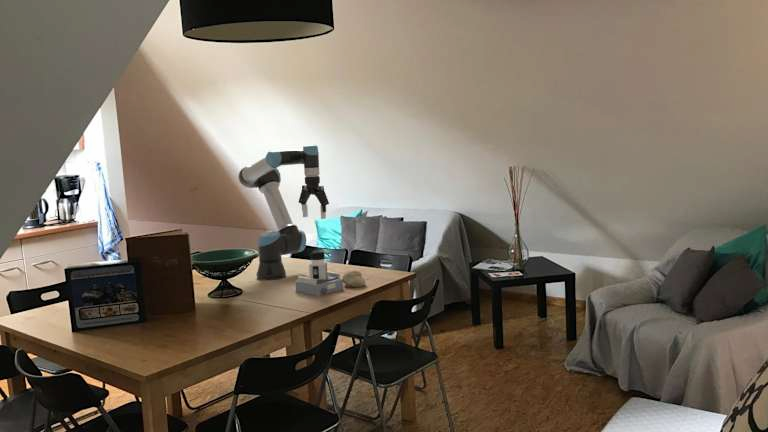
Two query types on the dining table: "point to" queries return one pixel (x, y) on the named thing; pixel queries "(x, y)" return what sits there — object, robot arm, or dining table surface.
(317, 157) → the robot arm
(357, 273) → the decorative item
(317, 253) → the container
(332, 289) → the grey low rectangular block
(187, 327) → the dining table surface
